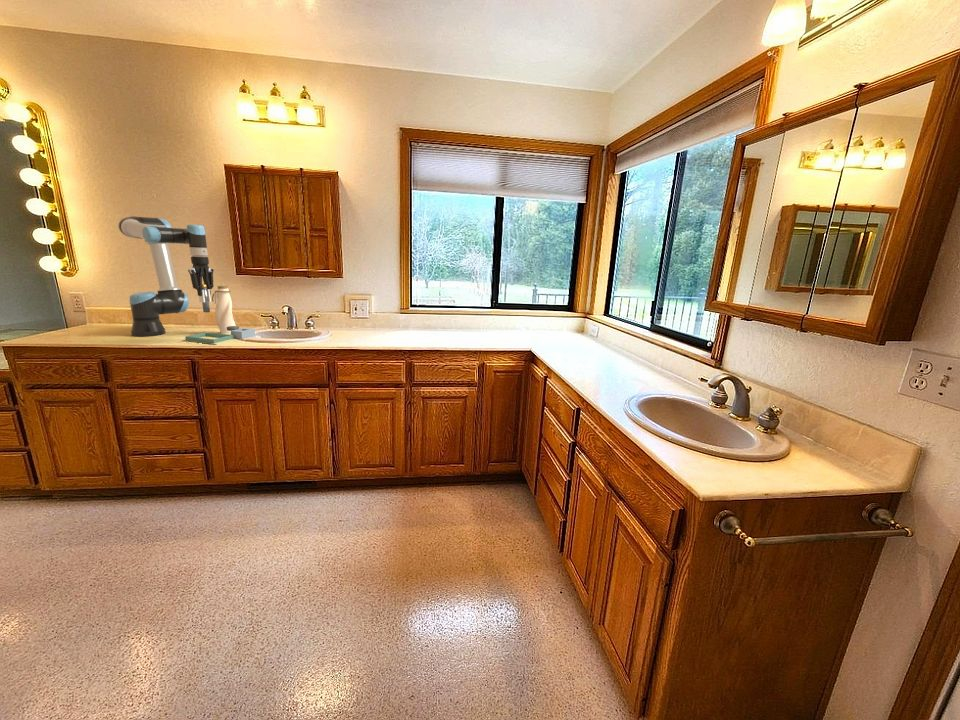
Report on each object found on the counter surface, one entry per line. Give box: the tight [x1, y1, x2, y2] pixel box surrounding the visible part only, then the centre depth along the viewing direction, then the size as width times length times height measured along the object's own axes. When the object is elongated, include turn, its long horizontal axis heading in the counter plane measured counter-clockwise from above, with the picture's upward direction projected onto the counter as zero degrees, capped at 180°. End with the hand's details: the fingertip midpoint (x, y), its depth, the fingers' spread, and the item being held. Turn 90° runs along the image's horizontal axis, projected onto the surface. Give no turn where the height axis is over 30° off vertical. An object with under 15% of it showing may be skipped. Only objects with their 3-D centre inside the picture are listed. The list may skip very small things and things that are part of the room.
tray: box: [184, 331, 235, 346], centre depth 221 cm, size 18×13×3 cm
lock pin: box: [201, 283, 211, 313], centre depth 215 cm, size 3×3×14 cm
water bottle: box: [211, 285, 237, 335], centre depth 236 cm, size 10×9×28 cm
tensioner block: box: [227, 325, 256, 340], centre depth 231 cm, size 14×10×6 cm
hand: (205, 301), depth 216 cm, fingers closed on lock pin, 3 cm apart
